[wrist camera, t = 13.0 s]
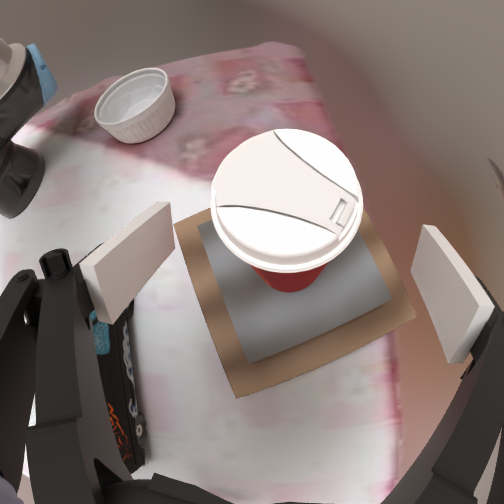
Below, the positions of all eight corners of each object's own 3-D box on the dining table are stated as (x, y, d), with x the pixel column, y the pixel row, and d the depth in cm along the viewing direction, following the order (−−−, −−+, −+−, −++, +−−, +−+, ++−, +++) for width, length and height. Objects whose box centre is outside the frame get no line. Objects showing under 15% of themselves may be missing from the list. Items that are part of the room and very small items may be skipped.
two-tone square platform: (185, 236, 36) (163, 213, 30) (330, 175, 36) (336, 143, 29) (242, 392, 30) (230, 405, 23) (403, 319, 30) (429, 313, 23)
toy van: (134, 276, 36) (89, 254, 26) (157, 462, 28) (117, 491, 19) (75, 285, 37) (27, 268, 27) (93, 451, 29) (48, 469, 20)
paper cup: (346, 247, 26) (390, 160, 13) (304, 320, 25) (320, 299, 11) (273, 208, 28) (255, 103, 15) (229, 276, 27) (170, 213, 13)
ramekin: (147, 88, 47) (133, 63, 40) (197, 102, 43) (185, 72, 37) (100, 138, 45) (81, 115, 38) (145, 161, 41) (124, 134, 34)
